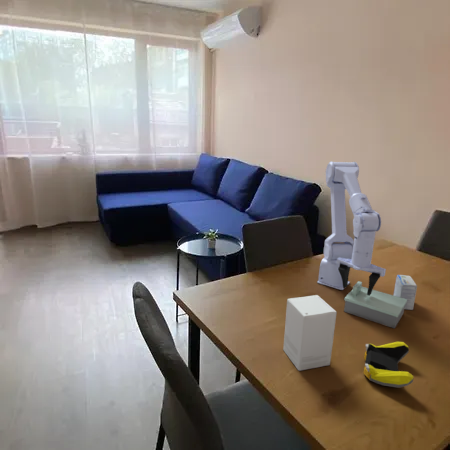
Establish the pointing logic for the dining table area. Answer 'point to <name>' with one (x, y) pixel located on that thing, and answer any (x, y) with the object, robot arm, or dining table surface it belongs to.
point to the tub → (372, 314)
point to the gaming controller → (386, 364)
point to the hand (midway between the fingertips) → (356, 290)
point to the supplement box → (309, 332)
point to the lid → (376, 300)
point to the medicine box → (405, 290)
